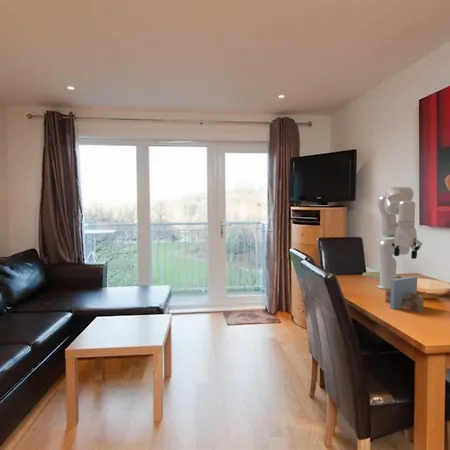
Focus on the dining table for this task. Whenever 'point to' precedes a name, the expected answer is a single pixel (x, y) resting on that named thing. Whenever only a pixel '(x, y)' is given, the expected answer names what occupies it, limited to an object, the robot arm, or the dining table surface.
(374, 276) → the decorative tile
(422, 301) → the mottled stone notched panel
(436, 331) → the dining table surface
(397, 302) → the slate slotted plate
